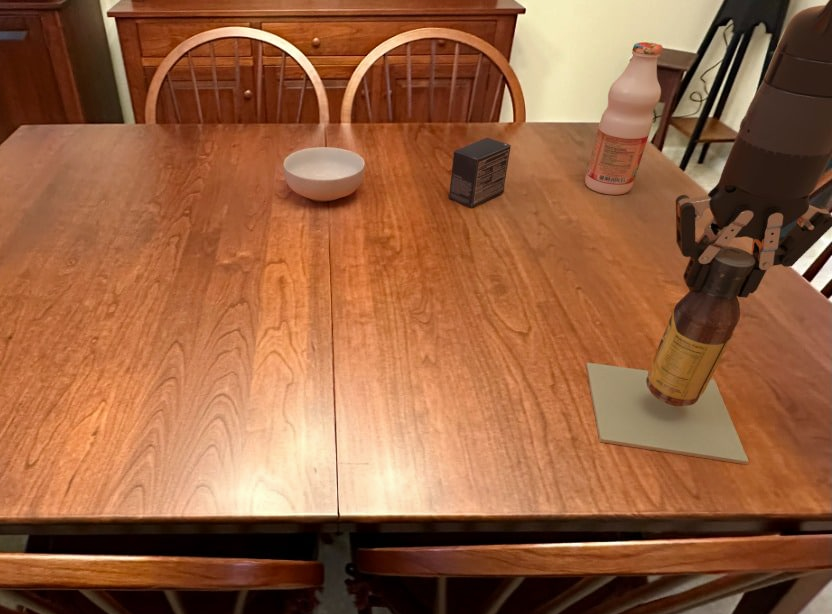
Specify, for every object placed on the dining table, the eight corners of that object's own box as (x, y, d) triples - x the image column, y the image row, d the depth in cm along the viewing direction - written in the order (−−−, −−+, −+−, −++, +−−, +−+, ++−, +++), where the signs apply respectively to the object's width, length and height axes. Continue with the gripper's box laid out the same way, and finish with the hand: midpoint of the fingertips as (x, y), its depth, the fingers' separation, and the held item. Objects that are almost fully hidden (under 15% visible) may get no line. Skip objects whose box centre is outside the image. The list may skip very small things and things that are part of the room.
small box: (479, 183, 130) (486, 135, 123) (504, 193, 126) (513, 144, 119) (446, 198, 124) (452, 149, 118) (471, 209, 120) (479, 159, 114)
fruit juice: (574, 179, 131) (610, 40, 114) (613, 174, 132) (654, 37, 115) (600, 198, 123) (642, 53, 106) (641, 192, 125) (688, 49, 108)
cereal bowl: (359, 214, 119) (360, 181, 115) (277, 209, 121) (275, 176, 117) (367, 178, 132) (368, 147, 128) (293, 174, 135) (292, 143, 130)
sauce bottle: (669, 369, 77) (733, 233, 65) (710, 401, 73) (787, 262, 61) (629, 382, 76) (687, 245, 64) (669, 416, 71) (740, 275, 59)
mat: (712, 382, 80) (714, 378, 80) (747, 464, 69) (749, 461, 69) (585, 365, 83) (586, 362, 83) (599, 442, 72) (600, 438, 72)
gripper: (712, 146, 53) (651, 303, 64) (899, 158, 51) (803, 319, 61) (691, 117, 59) (638, 265, 69) (857, 126, 56) (776, 279, 67)
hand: (716, 290), depth 65 cm, fingers closed on sauce bottle, 4 cm apart
